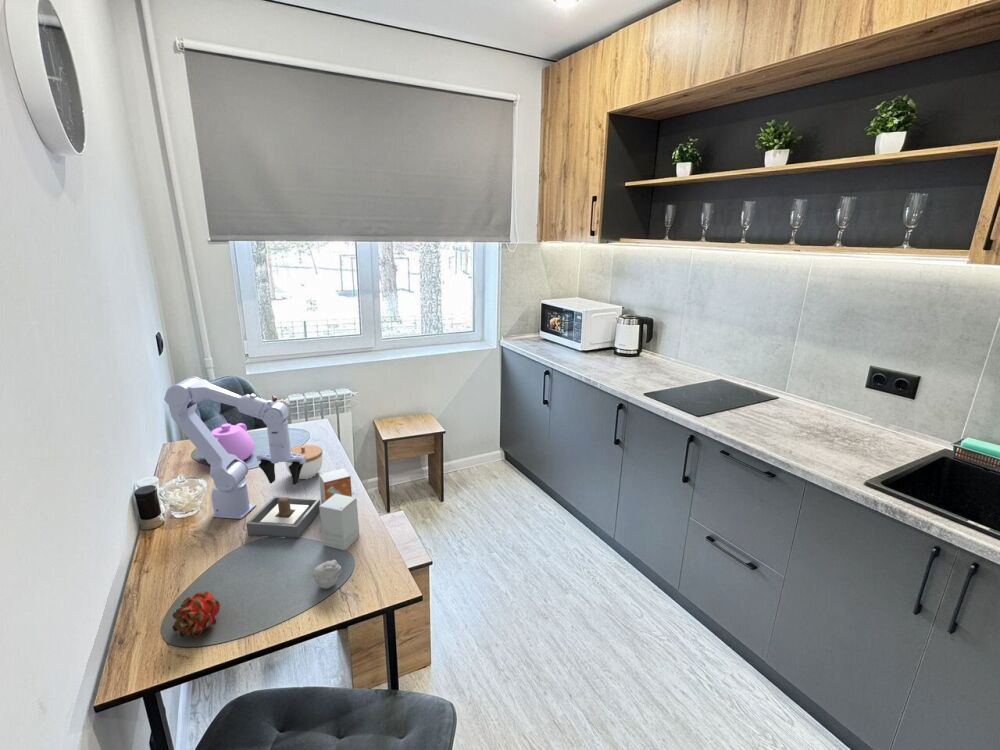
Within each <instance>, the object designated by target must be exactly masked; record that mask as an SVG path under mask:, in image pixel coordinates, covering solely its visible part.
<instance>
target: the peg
mask: <svg viewBox="0 0 1000 750" xmlns="http://www.w3.org/2000/svg"><path fill="white" fill-rule="evenodd" d="M282 497H283V498H280V499H279V500H278V508H279V516H280V517H283V518H289V517H290V516H291V508H290V500H289V498H288V497H289V496H282Z"/></svg>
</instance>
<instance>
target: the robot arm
mask: <svg viewBox="0 0 1000 750" xmlns="http://www.w3.org/2000/svg"><path fill="white" fill-rule="evenodd" d="M163 400H164V402H165V403H166V404H167V405H168V408H169V414H170V417H171V418H172V420H173V421H174V423H175V424H177V426H178V427H179V428H180V429H181V431H182V432H183V433H184V434H185V435H186V437H187V438H188V439H189V440H190V442H191V443H192V444H193V445H194V447H195V448H196V449H197V450H198V451H199V453H200V454H201V456H202V457H203V459H204V460H206V462H207V461H208V462H209V465H210V469H209V475H210V477H211V478H212V479H213V484H214V488H213V489H212V490H211V501H212V502H211V503H212V508H213V515H212V518H220V519H221V518H223V519H224V518H225V519H237V520H241V519H243V518H245V517H246V516H247V515H248V514H249V513H250V511H252V510H253V509H254V508H255V507H256V506H257V504H256V503H250V497H249V492H248V484H247V480H246V476H247V475H248V473H249V466H248V464H247V463H246V462H245V461H244V460H243V461H242V460H240V459H238V458H237V456H236V455H233V454H228V453H227V452H226V450H225V449H224V448H223V447H222V445H221V444H220V443H219V441H218V440H217V439H216V438H215V436H214V435H213V434H212V433H211V432H212V431H211V430H210V429H209V428H208V426H207V425H206V424H205V422H204V421H203V420H202V419H201V418H200V416H199V415H198V414H197V412H196V409H197V405H198V403H199V402H202V401H205V400H206V401H207V400H211V401H214V402H217V403H220V404H225V405H228V406H232V407H235V408H237V410H238V412H239V413H241V414H244V415H247V416H249V417H254V418H256V419H258V420H262V421H263V423H264V424H265V426H266V428H267V431H266V432H267V437H268V445H269V448H268V449H269V452H259V453H258V454H256V459H257V462H260V463H259V464H258V468H260V469H261V470H262V472H263V473H264V475H265V476H266V479H267V480H268V483H269V484H273V483H274V482H275V481H276V472H275V467H276V465H275V464H279V463H284V462H292V464H291V465H290V466H289V470H290V472H291V474H290V475H291V482H292V485H293V486H296V485H297V484H298V483H299V476H300V472H301V469H302V466H303V464H304V463H305V462H306V457H305V456H304V455H299V454H295V453H292V452H291V442H290V441H291V440H290V430H289V424H288V423H289V422H288V418H287V417H288V416H289V415H290V408H289V406H288V405H287V404H286V403H285V402H283V401H282V400H276V401H273V400H271V399H269V400H267V399H264V398H261V397H258V396H257V394H255V393H251V394H248V393H246V394H245V395H240V394H238V393H235V392H232V391H230V390H228V389H225V388H222V387H220V386H218V385H215V384H213V383H210V382H209V381H208V380H207V379H204V378H200V377H198V376H187V378H185V379H183V380H182V381H179V382H178V383H176V384H173V385H171V386H169V387H168V389H167V390H166V392H165V396H164V399H163Z"/></svg>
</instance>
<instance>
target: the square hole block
mask: <svg viewBox="0 0 1000 750" xmlns="http://www.w3.org/2000/svg"><path fill="white" fill-rule="evenodd" d="M283 497H284V496H280V495H279V496H276V495H273V497H272V498H271V499H270V500H269V501H268V502H267V503H266V504H264V506H262V508H260V510H258V512H257V513H255V514H254V515H253V516H252V517H251V518H250V519H249V520H248V521H247V522H246V523H245V524H246V531H247V536H249V537H261V536H268V537H267V538H276V537H285V538H284V539H291V538H295V540H299V539H300V538H301V537H302V535H303V534H304V533H305V531H306V530H307V529H308V527H309V526H311V524H312V522H313V521H315V519H316V518H317V517H318V515H320V509H319V506H320V505H321V498H309V497H295V496H294V497H293V496H287V497H288V498H289V500H290V508H291V516H290V517H289V518H283V517H280V516H279V508H278V500H279V499H280V498H283ZM299 537H300V538H299Z"/></svg>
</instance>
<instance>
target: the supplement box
mask: <svg viewBox="0 0 1000 750" xmlns="http://www.w3.org/2000/svg"><path fill="white" fill-rule="evenodd" d="M357 500H358V499H357V497H355V496H352V497H350V496H345V495H340V494H334V495H333V496H332V497H330V498H329V499H328V500H327V501H325V502H324V503H323V504H321V505H320V506H319V509H320V513H319V516H320V524H321V525H320V526H321V527H320V528H321V535H322V542H323V544H322V545H323V546H325V547H329V548H333V549H337V550H341V551H346V550H347V549H348V548H349V547H350V546H351V545H352V544H354V542H355V541H356V540H358V538H360V526H359V525H360V524H359V514H358V512H359V511H358V501H357Z"/></svg>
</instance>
